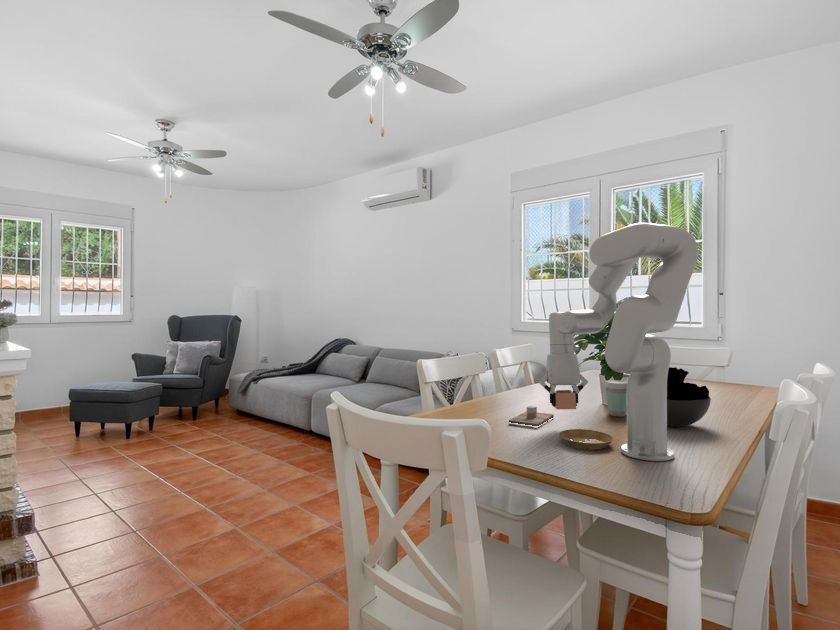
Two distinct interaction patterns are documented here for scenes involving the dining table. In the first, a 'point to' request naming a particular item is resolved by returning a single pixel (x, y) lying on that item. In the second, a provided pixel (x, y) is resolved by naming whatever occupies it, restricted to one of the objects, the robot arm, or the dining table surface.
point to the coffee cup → (616, 397)
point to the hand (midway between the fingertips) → (564, 405)
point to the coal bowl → (685, 399)
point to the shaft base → (533, 420)
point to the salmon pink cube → (565, 399)
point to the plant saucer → (585, 434)
